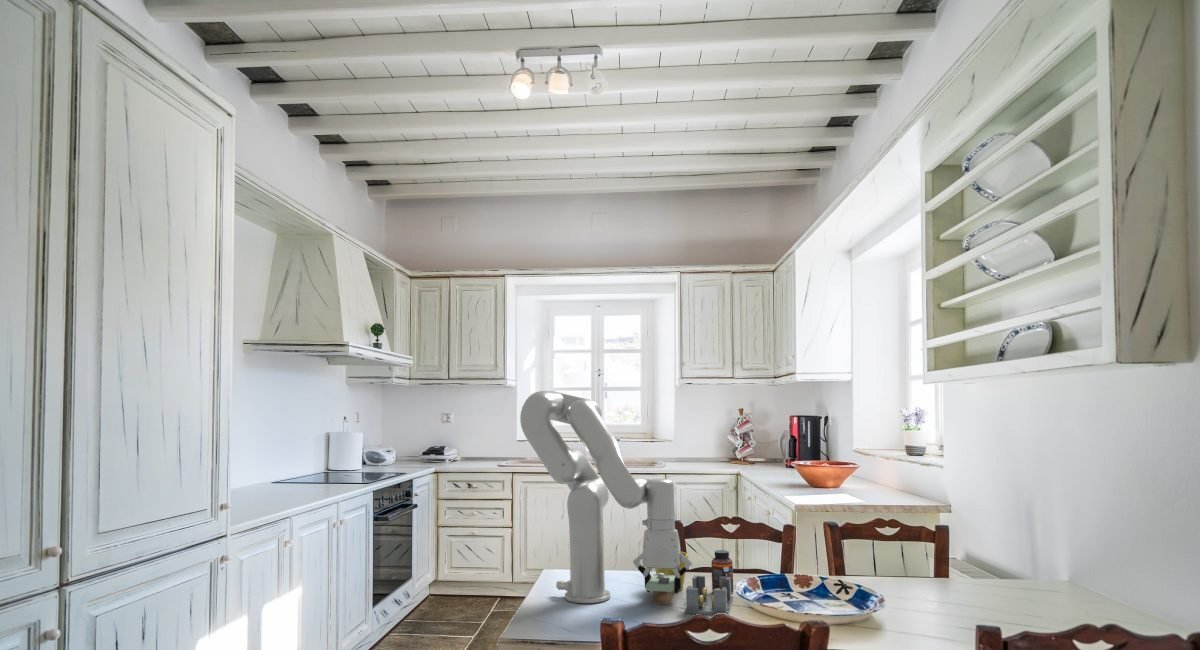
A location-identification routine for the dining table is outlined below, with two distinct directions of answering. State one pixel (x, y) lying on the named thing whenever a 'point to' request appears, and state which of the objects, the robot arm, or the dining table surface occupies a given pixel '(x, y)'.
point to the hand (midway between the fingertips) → (662, 590)
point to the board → (661, 583)
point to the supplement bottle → (721, 568)
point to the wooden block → (662, 597)
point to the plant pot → (670, 572)
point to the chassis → (708, 597)
